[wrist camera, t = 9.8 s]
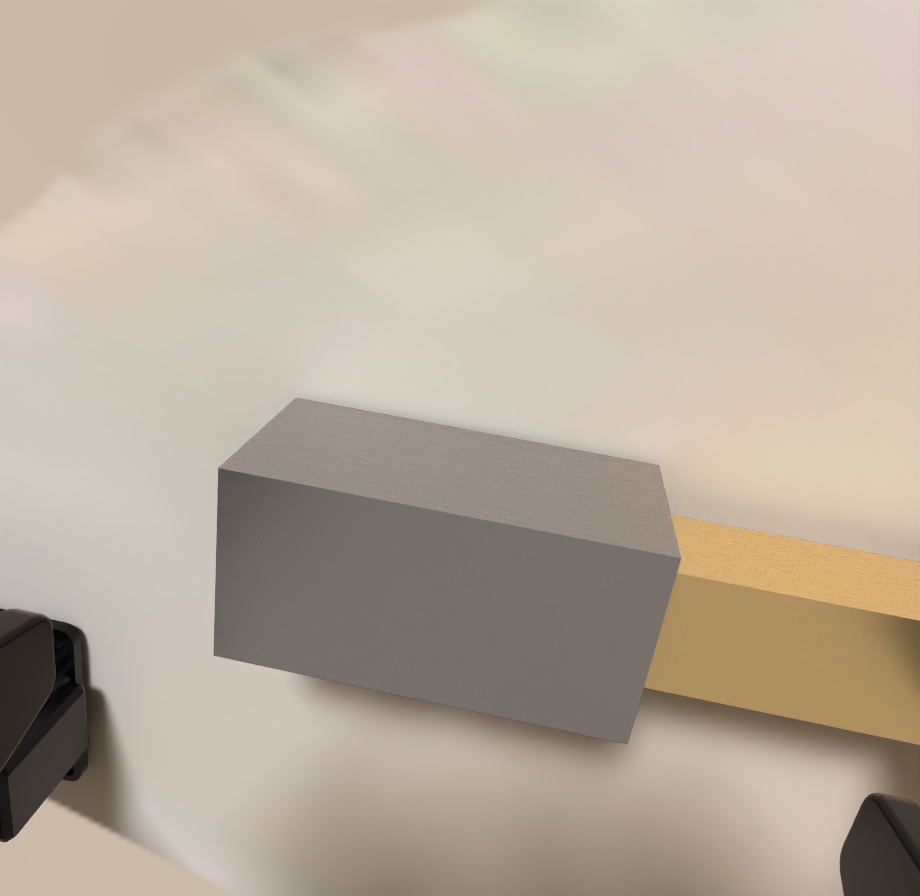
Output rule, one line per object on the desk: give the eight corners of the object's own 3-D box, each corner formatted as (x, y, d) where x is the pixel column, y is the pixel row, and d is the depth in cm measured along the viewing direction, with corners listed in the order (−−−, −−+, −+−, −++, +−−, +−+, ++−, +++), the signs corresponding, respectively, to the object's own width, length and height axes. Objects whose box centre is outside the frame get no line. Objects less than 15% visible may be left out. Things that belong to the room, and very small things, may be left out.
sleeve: (285, 554, 23) (213, 655, 19) (295, 397, 21) (218, 467, 17) (617, 621, 23) (627, 744, 18) (658, 465, 21) (681, 557, 16)
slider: (517, 592, 22) (478, 875, 13) (537, 489, 20) (509, 728, 12) (1081, 706, 20) (1424, 1093, 12) (1139, 604, 19) (1564, 956, 11)
